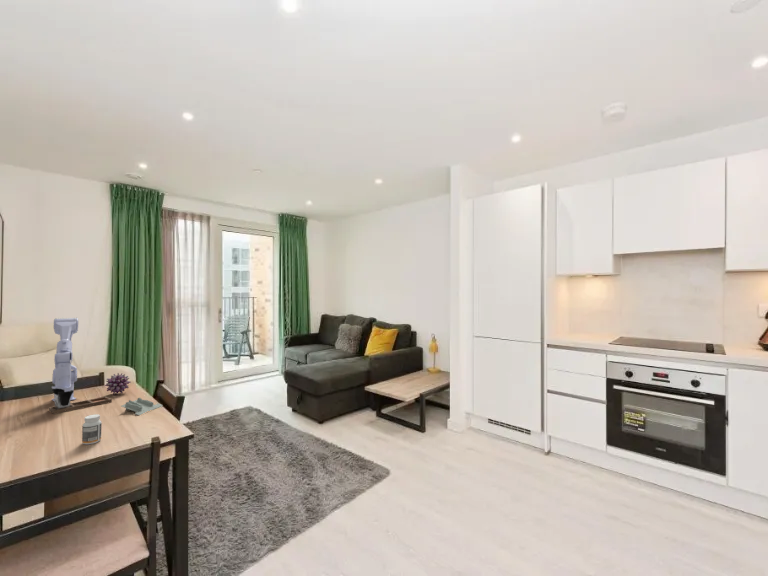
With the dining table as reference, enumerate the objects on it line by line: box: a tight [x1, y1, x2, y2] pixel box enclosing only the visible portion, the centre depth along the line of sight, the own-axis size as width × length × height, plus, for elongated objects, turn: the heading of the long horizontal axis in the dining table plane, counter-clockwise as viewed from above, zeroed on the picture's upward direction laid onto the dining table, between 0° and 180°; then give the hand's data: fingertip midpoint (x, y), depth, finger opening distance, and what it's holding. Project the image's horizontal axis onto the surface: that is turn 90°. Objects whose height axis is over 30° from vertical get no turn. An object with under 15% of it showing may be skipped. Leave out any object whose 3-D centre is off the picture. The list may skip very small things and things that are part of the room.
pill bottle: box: [81, 413, 103, 445], centre depth 137 cm, size 6×6×10 cm
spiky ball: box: [104, 372, 132, 395], centre depth 202 cm, size 12×12×12 cm
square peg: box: [54, 394, 71, 410], centre depth 174 cm, size 5×5×8 cm
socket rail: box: [48, 396, 112, 415], centre depth 180 cm, size 8×23×2 cm, turn 146°
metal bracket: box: [120, 397, 163, 416], centre depth 175 cm, size 14×6×15 cm
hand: (62, 404), depth 174 cm, fingers open, 7 cm apart
